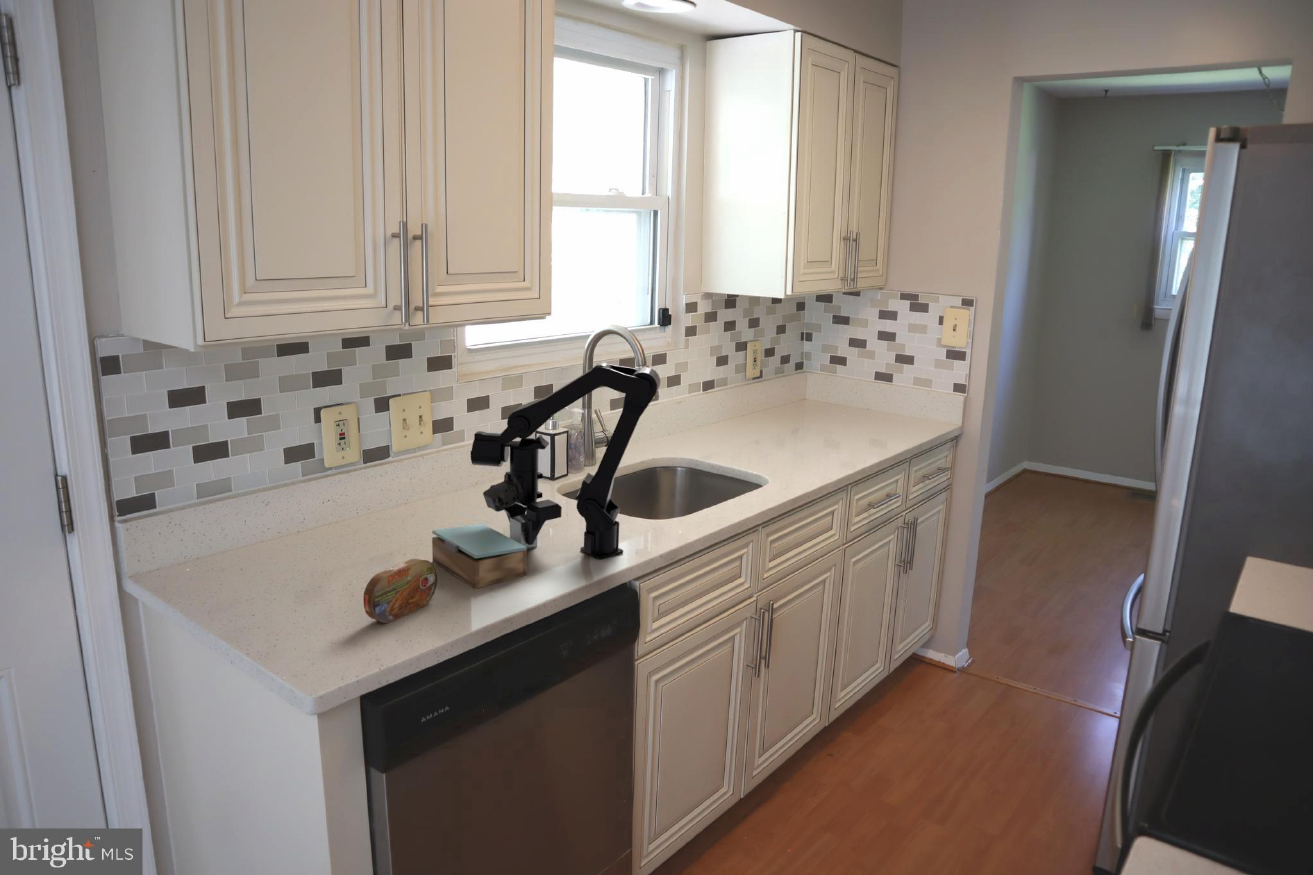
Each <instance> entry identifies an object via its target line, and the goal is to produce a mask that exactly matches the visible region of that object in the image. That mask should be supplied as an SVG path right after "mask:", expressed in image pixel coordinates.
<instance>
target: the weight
mask: <svg viewBox="0 0 1313 875" xmlns="http://www.w3.org/2000/svg"><path fill="white" fill-rule="evenodd" d="M524 515H526V513H525V514H524ZM520 516H521V515H520ZM520 516H515V517H511V518H510V523H509V538H511V539H512V540H514V541H516V542H518V543H520V544H522V545H524V546H526V547H527V550H530V549H534V548H537V547H538V536H537V537H536V539H535V541H534V543H533V544H532V545H528V543H527V536H526V524H525V521H524V520H523V519H522V518H521V517H520Z"/></svg>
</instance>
